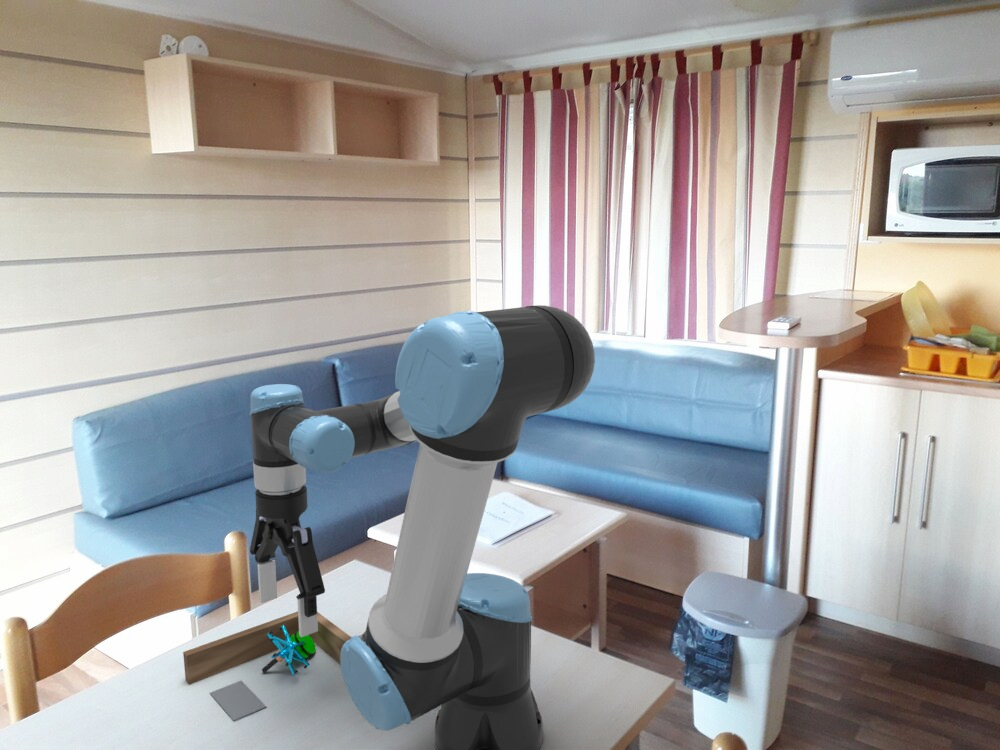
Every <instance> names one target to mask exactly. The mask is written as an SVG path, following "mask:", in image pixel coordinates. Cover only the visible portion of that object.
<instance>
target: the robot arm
mask: <svg viewBox="0 0 1000 750" xmlns="http://www.w3.org/2000/svg"><path fill="white" fill-rule="evenodd" d="M595 355H596V354H595V348H594V343H593V341H592V339H591V336H590V334H589V332H588V331H587V329H586V328H585V326H584V325H583V324H582V323H581V322H580V321H579V319H577V318H576V317H575V316H573V315H572V314H571V313H569V312H567V311H565V310H563V309H561V308H557V307H555V306H550V305H541V304H540V305H539V304H538V305H527V306H523V307H514V308H504V309H502V308H501V309H496V310H495V309H494V310H487V311H469V310H464V311H456V312H453V313H450V314H448V315H447V314H446V315H443V316H438V317H434V318H433V317H432V318H431V319H428V320H426V321H424V322H423V323H421V324H419V325H418V326H417V327H416V328H415V329H413V331H412V332H411V333H410V334H409V335H408V337H407V339H406V340H405V341H404V343H403V345H402V348H401V350H400V351H399V355H398V357H397V363H396V368H395V379H394V380H395V381H394V383H395V389H396V390H398V391H396V392H394V393H391V394H390V395H388V396H384V397H382V398H379V399H376V400H375V399H374V400H371V401H370V400H369V401H366V402H361V403H354V404H348V405H343V406H338V407H333V408H332V407H331V408H327V409H326V408H325V409H321V410H312V409H310V408H308V407H304V404H305V401H304V397H303V391H302V389H301V388H300V387H299V386H298V385H295V384H294V385H293V384H285V383H276V384H266V385H262V386H259V387H257V388H254V389H253V390H252V392H251V393H250V397H249V398H250V404H249V405H250V411H249V417H250V429H251V430H250V431H251V441H252V442H251V443H252V453H253V456H252V457H253V461H252V465H253V468H252V469H253V481H254V482H253V483H254V485H253V486H254V487H255V488H256V490H255V492H254V493H255V494H254V495H255V521H254V527H253V532H252V535H251V536H252V537H251V541H250V542H251V543H250V547H249V554H250V555H251V556H254V560H255V562H256V563H257V579H258V582H257V583H258V595H259V602H260V603H261V604H263V603H266V602H269V601H272V600H275V599H278V586H277V584H278V583H277V568H276V560H275V559H274V558H277V556H276V551H277V549H278V547H279V548H280V551H281V553H282V555H283V556H284V557H286V558H287V560H288V563H289V566H290V568H291V571H292V574H293V578H294V580H295V583H296V585H297V588H298V592H299V594H297V595H296V599H297V612H298V621H299V636H301V637H304V636H306V635H309V634H312V633H314V632H317V631H318V620H317V612H318V602H317V601H318V599H317V597H318V596H320V595H324V593H326V589H325V585H324V580H323V578H322V573H321V569H320V566H319V562H318V558H317V555H316V550H315V546H314V542H313V541H314V540H313V532H312V528H311V527H310V526H307V527H305V528H302V526H301V522H300V521H301V520H300V517H301V515H302V514H303V513H305V512H306V511H307V509H308V507H309V506H308V505H309V504H308V489H307V486H306V484H307V469H308V470H312V471H315V472H319V473H322V474H329V473H330V474H331V473H334V472H337V471H339V470H340V469H342V468H343V467H344V466H345V465H346V464H348V462H349V461H350V460H351V459H352V458H355V457H360V456H364V455H368V454H370V453H371V454H372V453H377V452H381V451H387V450H390V449H395V448H401V447H402V448H403V447H406V446H409V445H412V444H414V443H419V446H418V451H417V455H416V460H415V465H414V467H413V468H414V469H413V474H412V476H411V477H412V478H411V481H410V482H411V483H410V487H409V491H408V496H407V499H406V500H407V501H406V505H405V508H404V509H405V510H404V515H403V518H402V522H401V523H402V524H401V526H400V527H401V528H400V533H399V536H398V541H397V547H396V551H395V555H394V560H393V564H392V569H391V573H390V577H389V581H388V588H387V591H386V593H385V594H384V595H382V596H381V597H379V598H378V599H377V600H376V601H375V602H374V604H373V605H372V607H371V609H370V611H369V615H368V619H367V623H366V628H365V631H364V632H363V633H362V634H360V635H353V636H352V638H351V639H350V640H348V641H347V642H345V643H344V645H343V647H342V649H341V654H340V662H341V665H340V668H341V674H342V678H343V680H344V683H345V687H346V688H347V691H348V694H349V696H350V698H351V700H352V702H353V703H354V705H355V707H356V709H357V710H358V712H359V713H360V715H361V716H362V717H363V718H364V720H365V721H366V722H367V723H369V725H370V726H371V727H374V728H375V729H377V730H380V731H385V732H389V731H392V730H395V729H397V728H399V727H402V726H403V725H409V724H411V723H412V722H413V721H415V720H417V719H419V718H420V717H422V716H424V715H426V714H428V713H430V712H432V711H433V710H435V709H437V708H439V707H440V709H439V710H438V712H437V716H436V717H435V720H434V721H435V722H434V742H435V743H434V744H435V746H436V749H437V750H540V748H541V746H542V743H543V739H544V737H543V733H544V732H543V731H544V727H543V726H544V725H543V718H542V715H541V712H540V710H539V707H538V704H537V701H536V698H535V695H534V692H533V689H532V686H531V663H532V662H531V656H532V655H531V653H532V652H531V650H532V649H531V647H532V621H533V616H532V613H531V599H530V594H529V592H528V591H527V589H526V588H525V587H524V586H523V585H522V584H520V582H517V581H516V580H514V579H511V578H510V577H506V576H503V575H498V574H493V573H483V572H474V573H473V572H470V573H468V572H469V568H470V564H471V560H472V558H473V553H474V549H475V546H476V542H477V538H478V534H479V531H480V528H481V523H482V520H483V517H484V513H485V509H486V507H487V506H486V505H487V502H488V498H489V495H490V491H491V489H492V484H493V480H494V476H495V472H496V469H497V465H498V463H500V462H503V461H505V460H507V459H509V458H510V457H512V455H514V453H515V451H516V449H517V448H518V443H519V439H520V436H521V434H522V430H523V427H524V423H525V421H526V419H527V418H529V417H533V416H536V415H540V414H544V413H547V412H551V411H555V410H558V409H560V408H562V407H565V406H567V405H569V404H571V403H572V402H574V401H575V400H576V399H578V398H579V397H581V395H582V394H583V392H585V390H586V388H587V387H588V385H589V384H590V382H591V380H592V376H593V373H594V369H595V363H596V359H595V357H596V356H595ZM270 559H271V560H270Z"/></svg>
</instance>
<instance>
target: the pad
mask: <svg viewBox="0 0 1000 750" xmlns="http://www.w3.org/2000/svg"><path fill="white" fill-rule="evenodd" d="M209 695H210V696H211V697H212V698H213V700H214V701H215V702H216V703H217V704H218V705H219V706H220V707H221V709H222V710H223V711H224V712H225V713H226V715H228V717H229V718H230V719H231V720H232V721H233V722H235V721H238V720H241V719H243V718H245V717H247V716H250V715H253V714H255V713H257V712H260V711H262V710H264V709H267V706H266V704H265V703H264V702H263V701H262V700H261V699H260V698H259V697H258V696H257V695H256V694H255V693H254V692H253V691H252V690H251V689H250V687H248V685H246V684H245V683H244V682H243V681H242V680H239V681H236V682H234V683H231V684H229V685H226V686H223V687H222V688H219V689H216V690H213V691H211V692H209Z"/></svg>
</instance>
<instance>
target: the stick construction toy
mask: <svg viewBox="0 0 1000 750" xmlns="http://www.w3.org/2000/svg"><path fill="white" fill-rule="evenodd" d="M281 629H283V632H284V634H285V641H284V640H282V639H280V638H277V637H275V636H274V637H273V636H272V635H271V634H272V633H273V631H270V632H269V633H268V634H267V635H268V637H269V638H270V641H271V642H272V641H273V642H274V644H275V645H276V646H277V647H278V648H279V651H278V652H273V654H272V655H271V656H270V658H271V661H269V662H268V663H267V664H266V665H265V666H264V667H263V668H261V672H262V673H263V674H265V673H267V672H268V671H269V670H270V669H271V668H273V666H274V665H275V666H276V665H277V663H278V662H279V663H281V662H282V661H284V660H285V661H286V663H285V666H286V667H288V668H289V669H290V671H291V674H292V675H293V676H294V675H296V674H297V673H298V672H299V670H298V669H295V668H294V665H293V664H292V662H293V660H295V661H297V662H300V663H303V664H304V666H303V668H304V669H307V668H308V667H309V666H310V663H309V662H308V661H307V658H308V657H309V656H311V655H313V654H314V653H315V652H316V649H317V648H316V644H315V643H314V641H313V639H312V638H311V637H310V636H309V635H306V636H304V637H301V636H299V631H298V632H296V633H295V635H290V634H289V635H288V632H287V630H286V628H285V626H284V625H282V626H281V627H280V628H279V630H281ZM279 643H281V644H283V645H284V647H282V646H281V645H280V644H279Z"/></svg>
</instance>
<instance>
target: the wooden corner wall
mask: <svg viewBox="0 0 1000 750" xmlns="http://www.w3.org/2000/svg"><path fill="white" fill-rule="evenodd" d="M317 620H318V631H317V632H314V633H312V634H309V636H310V637H311V638H312V639H313V641H314V643H315V646H317V647H318V648H320V649H321V650H322V651H324V652H325V653H326V654H327V655H328V656H329V657H331V658H332V660H334V661H335V662H336V663H338V664H339V665H340V666H341V662H340V654H341V649H342V647H343V645H344V643H345V642H347V641H348V640H350V639H351V638H352V637H353V636H352V637H351V636H350V635H349V634H347V632H345V630H344V631H343V630H342V629H341V628H340V627H338V626H337V624H334V623H333V622H331V620H329V619H328V618H326V617H325V616H324V615H322V614H321V613H320V612H318V611H317ZM282 625H284V626H285V628H286V630H287V632H288V635H289V634H290V635H295V633H296V632H298V631H299V621H298V611H295V612H293V613H292V612H291V613H289V614H286V615H284V616H281V617H279V618H275V619H273V620H270V621H267V622H264V623H261V624H258V625H256V626H253V627H250V628H247V629H245V630H242V631H239V632H236V633H234V634H233V633H232V634H230V635H227V636H224V637H222V638H219V639H217V640H213V641H210V642H207V643H205V644H202V645H199V646H196V647H193V648H190V649H188V650H185V651H183V653H182V655H183V665H184V677H185V682H186V683H187V684H188V685H189V686H190V685H192V684H196V683H198V682H201V681H203V680H205V679H208V678H211V677H213V676H215V675H218V674H221V673H224V672H226V671H227V670H228V671H229V670H231V669H233V668H236V667H238V666H240V665H243V664H246V663H249V662H251V661H253V660H256V659H258V658H261V657H263V656H266V655H268V654H271V653H275V652H277V651H278V650H279V648H278V647H277V646H276V645H275V644H274V642H273V641H272V642H271V641H270V638H269V637H268V635H267V634H268V633H269V632H270V631H273V633H272V634H271V635H272V636H273V637H274V636H275V637H277V638H280V639H282V640H284V641H285V634H284V632H283V629H281V630H279V628H280V627H281V626H282ZM279 644H280V645H281V646H282V647H284V645H283V644H281V643H279ZM279 651H280V650H279Z"/></svg>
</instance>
